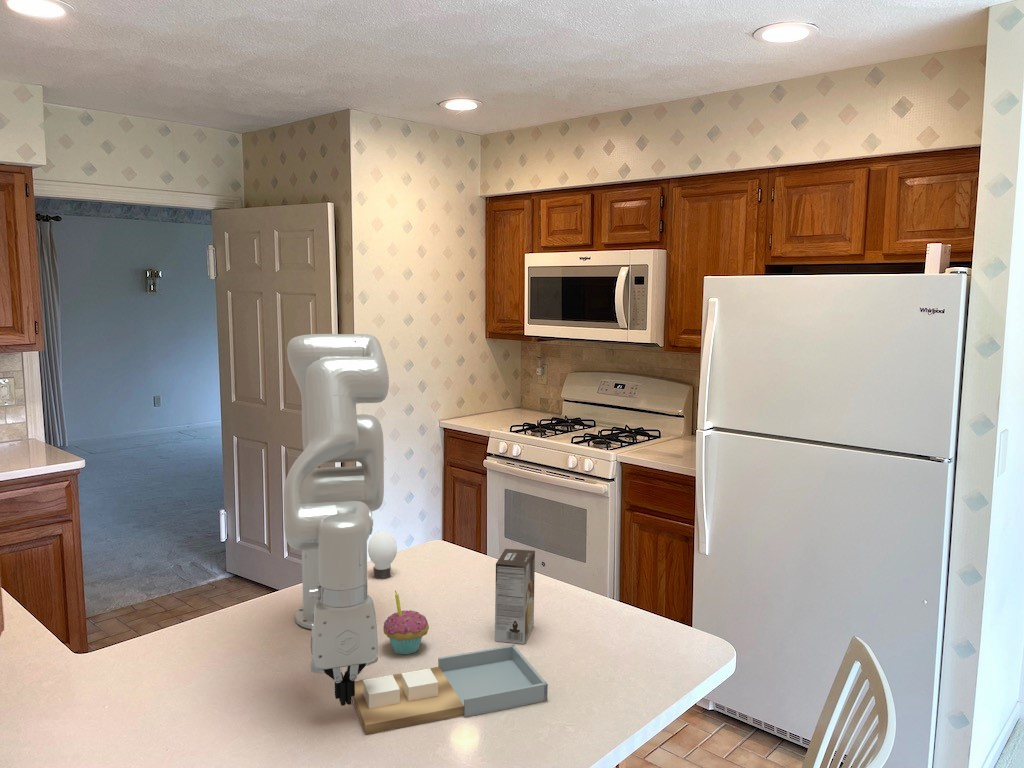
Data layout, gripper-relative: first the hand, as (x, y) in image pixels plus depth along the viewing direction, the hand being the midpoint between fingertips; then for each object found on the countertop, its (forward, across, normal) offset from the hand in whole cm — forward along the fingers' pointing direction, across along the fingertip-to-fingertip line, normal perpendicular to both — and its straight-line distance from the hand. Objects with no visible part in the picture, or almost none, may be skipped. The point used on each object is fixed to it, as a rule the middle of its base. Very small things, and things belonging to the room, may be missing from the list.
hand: (344, 700), depth 128 cm
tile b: (+1, +12, 0) cm, 12 cm away
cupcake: (+3, +15, +19) cm, 24 cm away
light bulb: (+3, +19, +57) cm, 60 cm away
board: (+2, +10, 0) cm, 10 cm away
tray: (+2, +25, 0) cm, 25 cm away
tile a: (+1, +6, 0) cm, 6 cm away
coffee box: (+3, +37, +18) cm, 41 cm away
